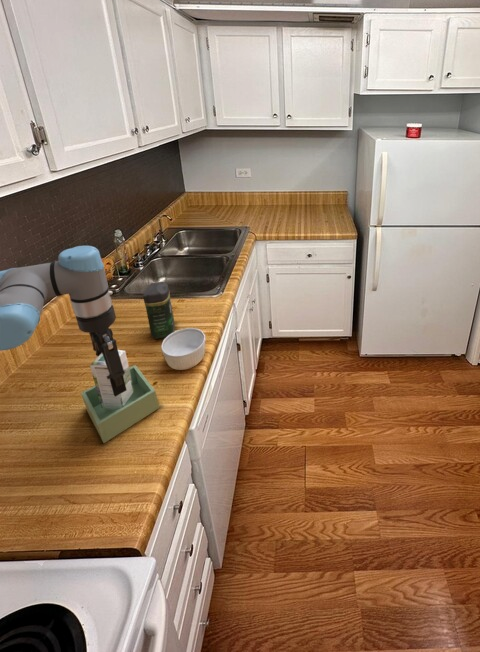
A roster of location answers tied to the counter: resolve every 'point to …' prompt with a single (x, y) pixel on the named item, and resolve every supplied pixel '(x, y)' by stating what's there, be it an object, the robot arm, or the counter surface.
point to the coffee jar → (159, 310)
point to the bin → (121, 419)
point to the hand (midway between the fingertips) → (114, 383)
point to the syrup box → (104, 384)
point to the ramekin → (184, 348)
